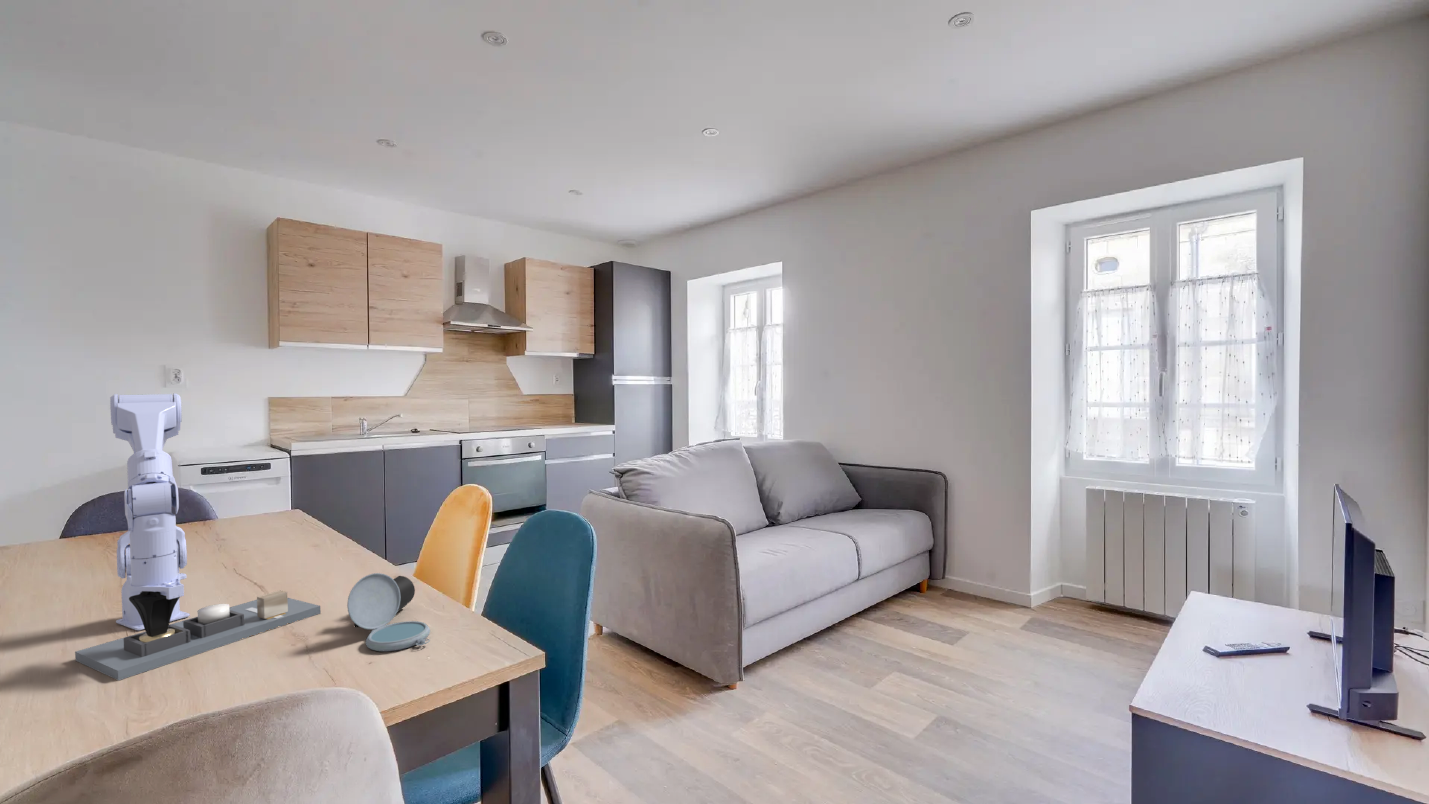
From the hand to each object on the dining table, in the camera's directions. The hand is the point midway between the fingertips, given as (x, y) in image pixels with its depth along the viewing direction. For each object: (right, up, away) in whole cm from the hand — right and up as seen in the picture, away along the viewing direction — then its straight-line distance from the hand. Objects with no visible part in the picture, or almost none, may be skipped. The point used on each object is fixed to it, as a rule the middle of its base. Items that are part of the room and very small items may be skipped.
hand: (157, 634), depth 101 cm
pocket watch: (+38, -3, +4) cm, 39 cm away
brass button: (0, -2, 0) cm, 2 cm away
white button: (+4, 0, +7) cm, 8 cm away
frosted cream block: (+10, -1, +13) cm, 16 cm away
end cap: (+30, -3, +15) cm, 34 cm away
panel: (+2, -3, +8) cm, 9 cm away
